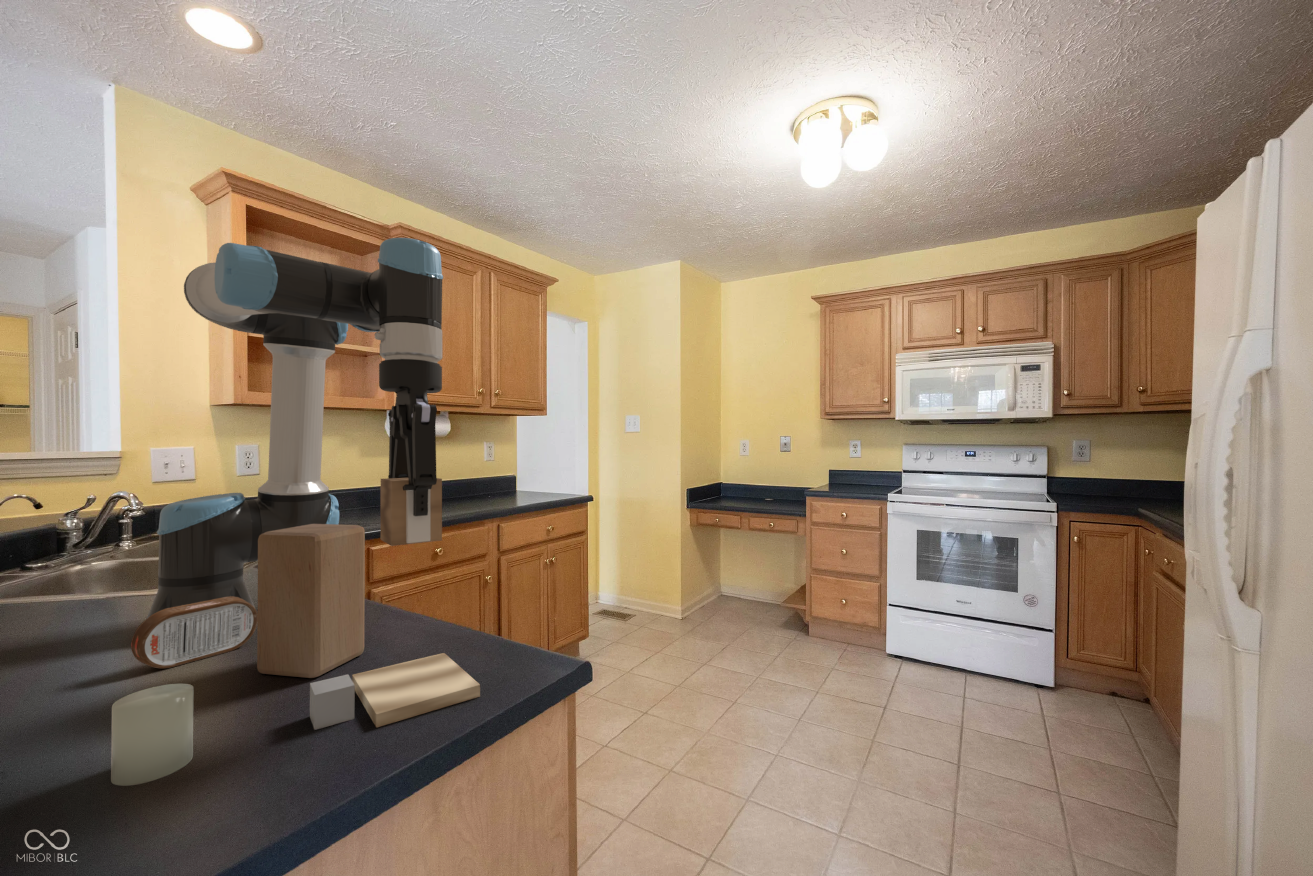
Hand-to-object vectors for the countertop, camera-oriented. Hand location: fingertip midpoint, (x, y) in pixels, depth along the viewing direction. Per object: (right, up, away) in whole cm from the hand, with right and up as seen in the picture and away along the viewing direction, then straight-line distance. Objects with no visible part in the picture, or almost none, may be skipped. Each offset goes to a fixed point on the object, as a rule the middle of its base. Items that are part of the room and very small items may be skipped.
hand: (411, 538), depth 71 cm
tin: (-37, -21, +12) cm, 44 cm away
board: (0, -20, 0) cm, 20 cm away
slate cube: (-6, -20, -7) cm, 22 cm away
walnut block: (0, 0, 0) cm, 0 cm away
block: (-19, -20, +9) cm, 29 cm away
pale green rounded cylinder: (-18, -20, -17) cm, 32 cm away
